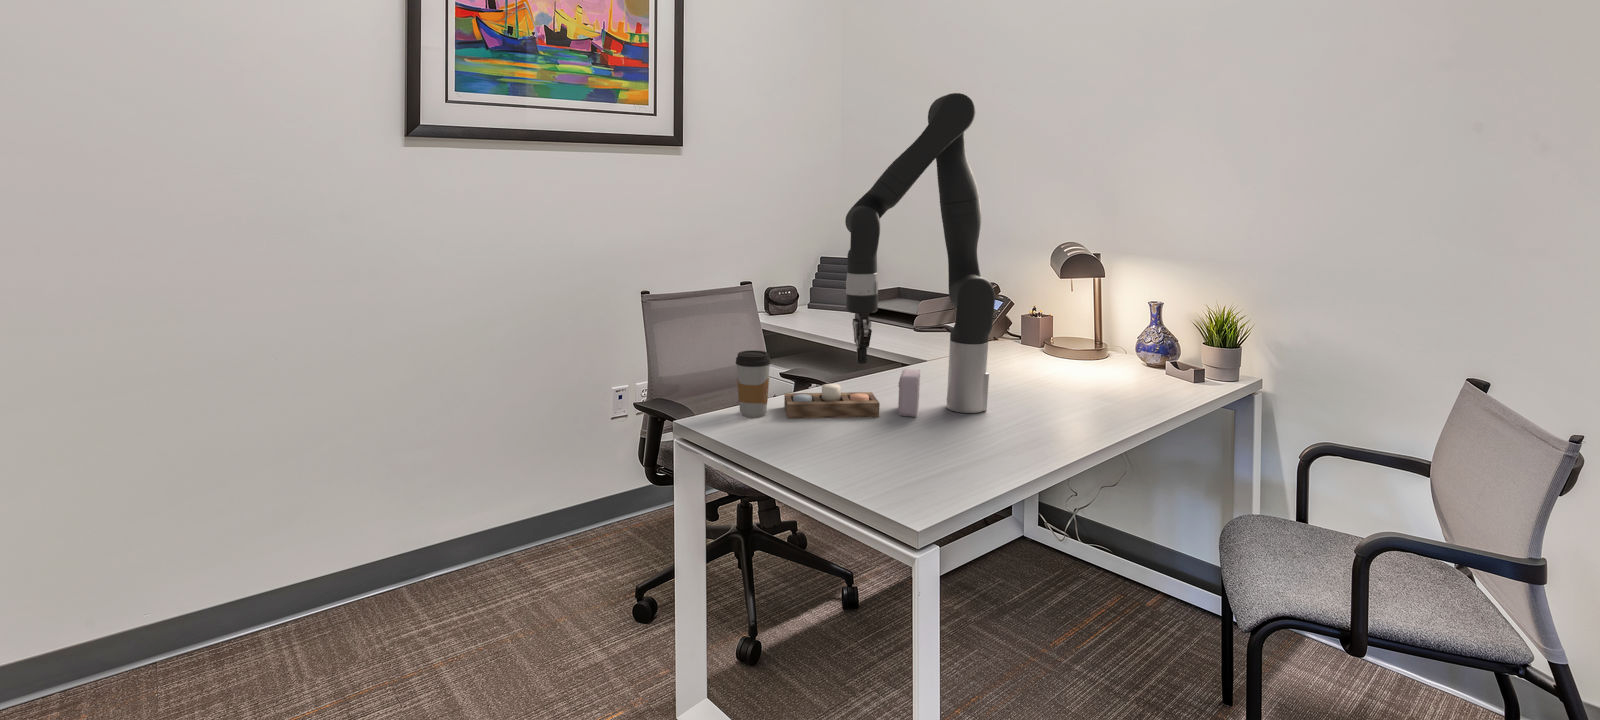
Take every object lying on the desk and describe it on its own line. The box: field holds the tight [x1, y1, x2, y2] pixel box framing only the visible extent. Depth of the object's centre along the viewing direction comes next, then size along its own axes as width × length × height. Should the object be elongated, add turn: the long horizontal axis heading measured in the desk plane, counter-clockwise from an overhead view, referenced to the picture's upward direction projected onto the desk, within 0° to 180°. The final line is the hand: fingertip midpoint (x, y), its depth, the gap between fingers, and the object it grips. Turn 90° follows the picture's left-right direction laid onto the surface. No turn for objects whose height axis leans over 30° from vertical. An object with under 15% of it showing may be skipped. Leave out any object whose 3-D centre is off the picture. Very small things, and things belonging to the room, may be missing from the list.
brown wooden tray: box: [783, 391, 881, 420], centre depth 192 cm, size 22×10×4 cm, turn 96°
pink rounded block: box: [850, 393, 869, 401], centre depth 192 cm, size 5×5×3 cm
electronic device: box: [897, 368, 921, 418], centre depth 192 cm, size 10×5×10 cm, turn 168°
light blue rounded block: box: [793, 394, 812, 402], centre depth 191 cm, size 5×5×3 cm
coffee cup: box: [735, 349, 771, 419], centre depth 188 cm, size 8×8×15 cm
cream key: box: [821, 383, 842, 401], centre depth 191 cm, size 5×5×3 cm
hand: (861, 362), depth 190 cm, fingers closed
